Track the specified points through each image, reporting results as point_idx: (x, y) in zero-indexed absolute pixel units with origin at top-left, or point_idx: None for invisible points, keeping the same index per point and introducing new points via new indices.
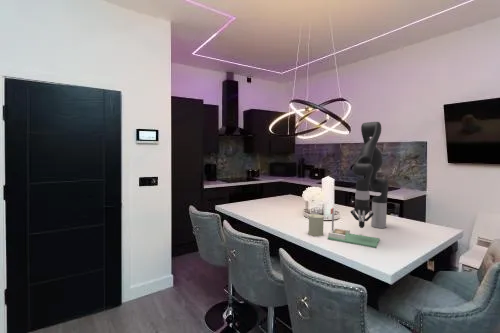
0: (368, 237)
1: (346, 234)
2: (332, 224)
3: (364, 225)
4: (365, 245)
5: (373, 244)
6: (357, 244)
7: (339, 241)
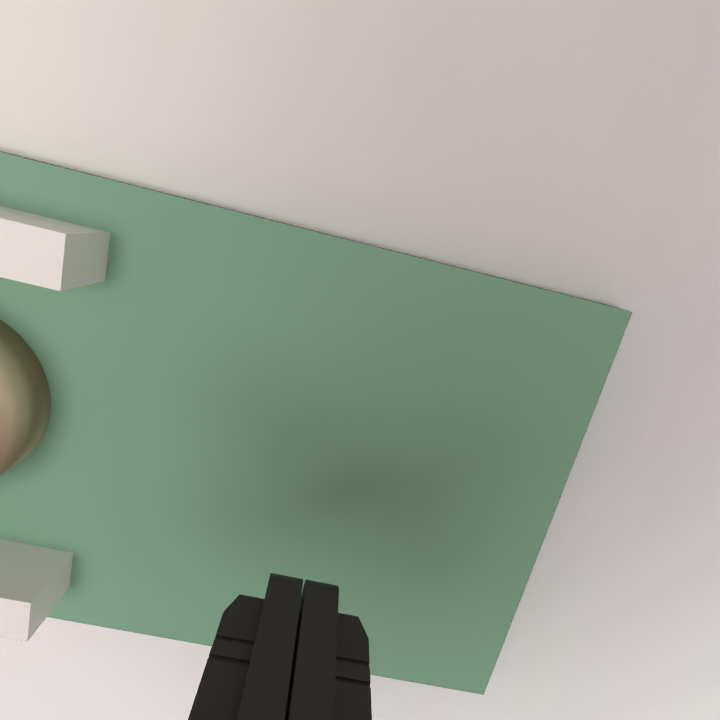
0: (446, 330)
1: None
2: None
3: (367, 654)
4: None
5: (465, 639)
6: None
7: None
